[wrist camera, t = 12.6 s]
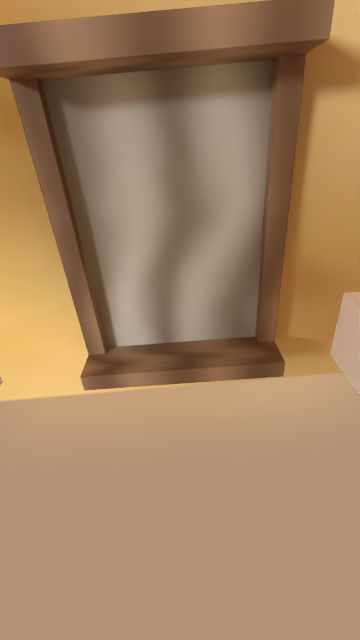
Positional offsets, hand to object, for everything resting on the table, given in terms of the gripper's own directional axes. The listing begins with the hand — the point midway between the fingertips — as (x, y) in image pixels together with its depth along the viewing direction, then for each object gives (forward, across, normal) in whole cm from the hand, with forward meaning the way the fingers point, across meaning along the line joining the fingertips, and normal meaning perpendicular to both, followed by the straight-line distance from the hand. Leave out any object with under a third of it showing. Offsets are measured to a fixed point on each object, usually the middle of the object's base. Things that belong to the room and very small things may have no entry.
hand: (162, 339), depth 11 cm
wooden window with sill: (+15, +1, 0) cm, 15 cm away
